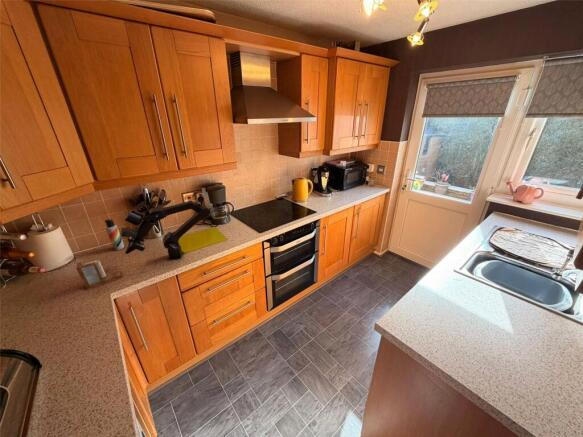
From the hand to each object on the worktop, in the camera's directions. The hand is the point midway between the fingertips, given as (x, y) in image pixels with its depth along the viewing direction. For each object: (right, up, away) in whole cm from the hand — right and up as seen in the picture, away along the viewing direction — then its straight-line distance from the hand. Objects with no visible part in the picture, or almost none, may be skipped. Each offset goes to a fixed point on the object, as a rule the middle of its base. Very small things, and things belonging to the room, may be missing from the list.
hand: (126, 253), depth 121 cm
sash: (-11, -12, -4) cm, 17 cm away
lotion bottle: (-22, 0, +25) cm, 33 cm away
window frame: (-9, -14, -3) cm, 16 cm away
